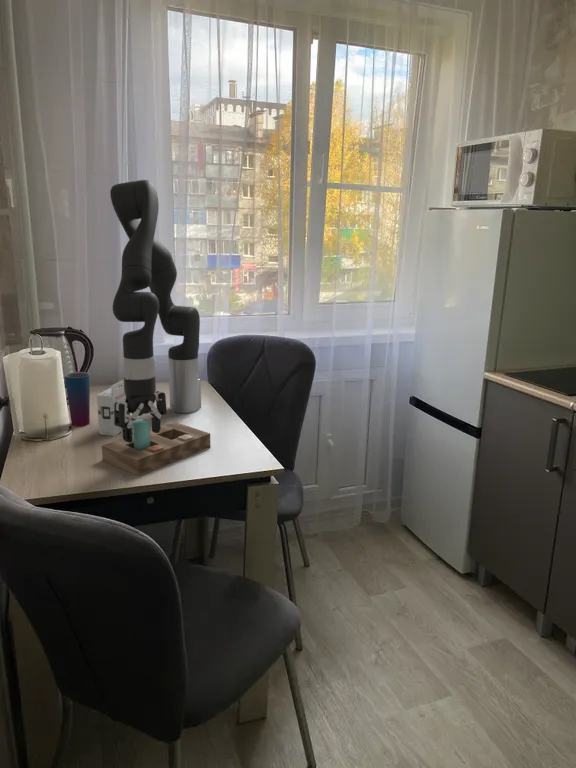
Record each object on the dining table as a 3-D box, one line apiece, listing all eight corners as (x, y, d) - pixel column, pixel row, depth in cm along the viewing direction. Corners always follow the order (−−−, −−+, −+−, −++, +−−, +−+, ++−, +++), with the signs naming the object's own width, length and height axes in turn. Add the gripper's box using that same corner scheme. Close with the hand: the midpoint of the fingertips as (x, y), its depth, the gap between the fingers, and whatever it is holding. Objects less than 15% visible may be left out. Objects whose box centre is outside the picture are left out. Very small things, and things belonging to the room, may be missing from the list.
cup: (70, 428, 166) (66, 378, 162) (66, 421, 172) (63, 373, 168) (94, 425, 169) (91, 376, 165) (90, 418, 175) (87, 371, 171)
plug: (144, 455, 149) (142, 418, 146) (154, 459, 147) (152, 421, 144) (131, 459, 146) (129, 422, 143) (141, 463, 144) (139, 425, 141)
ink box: (113, 425, 170) (110, 376, 166) (128, 426, 169) (126, 378, 166) (98, 434, 162) (95, 384, 158) (114, 436, 161) (111, 385, 157)
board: (175, 435, 163) (175, 420, 162) (210, 447, 155) (210, 431, 154) (102, 460, 145) (101, 443, 144) (138, 475, 137) (137, 457, 136)
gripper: (152, 366, 148) (154, 426, 152) (105, 377, 137) (109, 441, 141) (172, 371, 144) (174, 432, 148) (124, 382, 133) (128, 448, 137)
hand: (142, 436), depth 145 cm, fingers open, 8 cm apart
